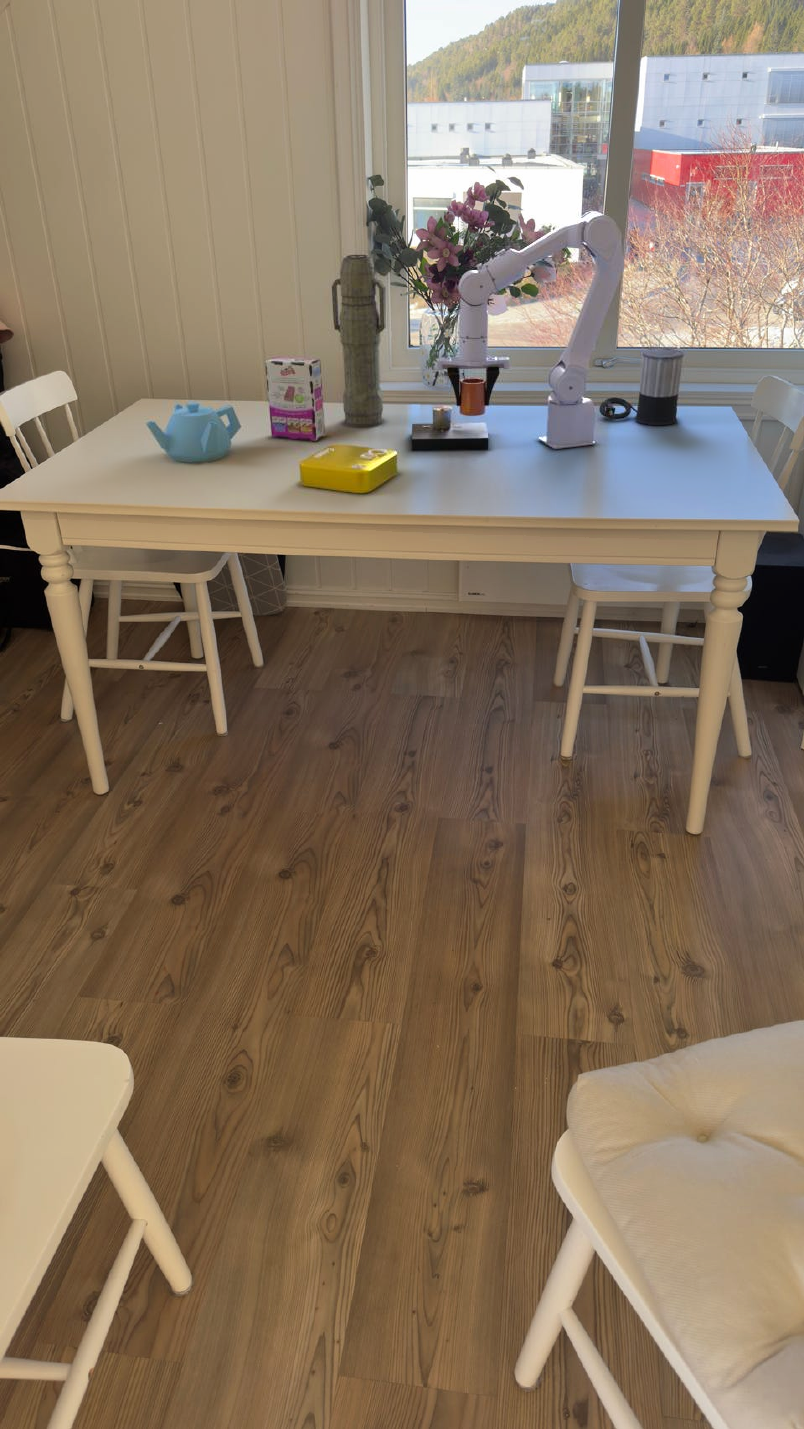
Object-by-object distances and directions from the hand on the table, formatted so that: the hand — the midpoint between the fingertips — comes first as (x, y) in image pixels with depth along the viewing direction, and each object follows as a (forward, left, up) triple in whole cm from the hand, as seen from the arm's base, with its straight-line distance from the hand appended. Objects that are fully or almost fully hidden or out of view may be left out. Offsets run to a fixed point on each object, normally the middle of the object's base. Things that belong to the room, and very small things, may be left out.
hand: (472, 404), depth 212 cm
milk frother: (-43, -5, -9) cm, 44 cm away
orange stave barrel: (0, 0, -2) cm, 2 cm away
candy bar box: (+32, -21, -9) cm, 40 cm away
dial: (+4, -8, -6) cm, 10 cm away
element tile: (+30, +12, -9) cm, 34 cm away
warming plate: (+3, -4, -9) cm, 10 cm away
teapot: (+55, -16, -9) cm, 58 cm away
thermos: (+15, -27, -9) cm, 33 cm away
